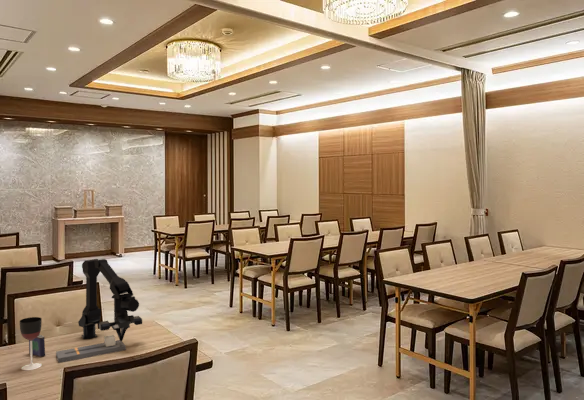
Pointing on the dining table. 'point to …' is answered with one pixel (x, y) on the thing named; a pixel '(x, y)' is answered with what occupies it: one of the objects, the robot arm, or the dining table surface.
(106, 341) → the fader tab
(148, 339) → the dining table surface
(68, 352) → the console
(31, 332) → the wineglass
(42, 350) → the flask
